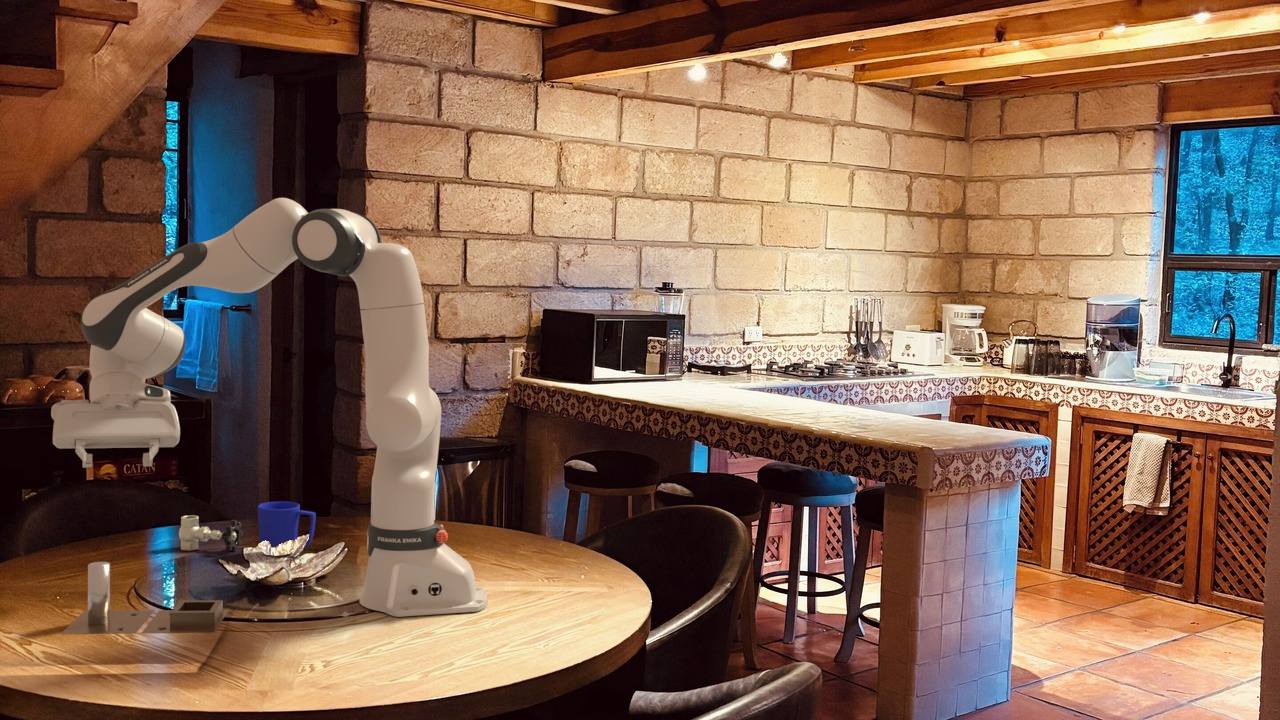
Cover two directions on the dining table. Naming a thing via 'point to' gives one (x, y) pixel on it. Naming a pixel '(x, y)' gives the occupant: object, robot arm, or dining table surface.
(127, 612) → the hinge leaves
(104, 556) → the dining table surface
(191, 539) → the valve
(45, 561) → the dining table surface
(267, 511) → the mug
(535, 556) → the dining table surface
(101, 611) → the pin
